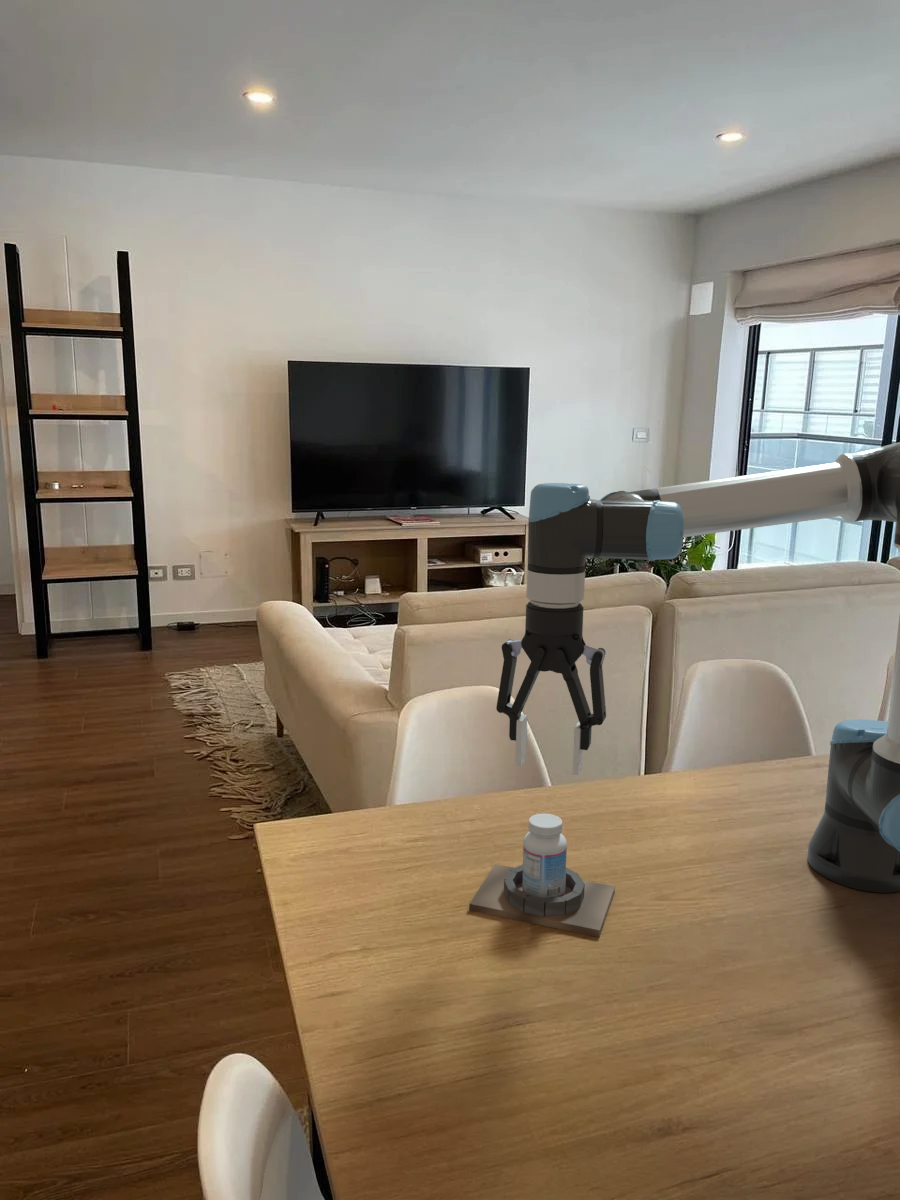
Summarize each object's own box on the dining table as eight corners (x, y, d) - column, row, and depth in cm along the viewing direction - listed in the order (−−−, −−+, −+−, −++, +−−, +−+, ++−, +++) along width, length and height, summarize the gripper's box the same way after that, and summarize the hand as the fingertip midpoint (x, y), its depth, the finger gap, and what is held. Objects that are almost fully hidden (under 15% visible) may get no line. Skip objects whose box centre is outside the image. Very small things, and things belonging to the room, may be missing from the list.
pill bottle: (564, 885, 127) (567, 811, 124) (565, 907, 121) (568, 831, 119) (521, 882, 127) (524, 809, 125) (521, 905, 121) (523, 828, 119)
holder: (614, 892, 127) (615, 873, 126) (599, 937, 116) (600, 916, 115) (494, 870, 133) (495, 851, 132) (469, 910, 122) (469, 890, 121)
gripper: (636, 603, 116) (627, 767, 120) (490, 591, 123) (486, 747, 127) (627, 614, 109) (618, 788, 113) (473, 601, 116) (469, 766, 120)
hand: (548, 766), depth 120 cm, fingers open, 7 cm apart
